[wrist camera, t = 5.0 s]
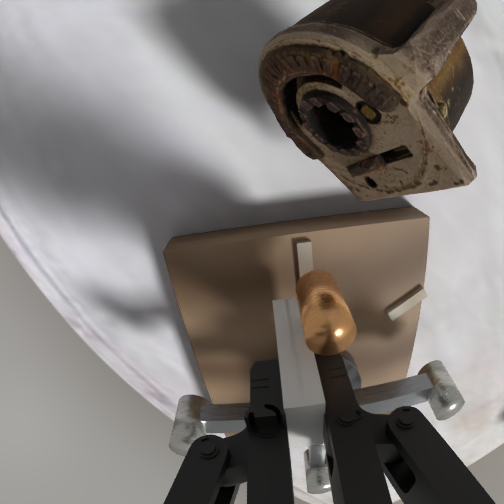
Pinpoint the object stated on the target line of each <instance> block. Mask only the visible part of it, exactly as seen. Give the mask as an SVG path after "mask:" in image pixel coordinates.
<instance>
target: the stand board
mask: <svg viewBox="0 0 504 504" xmlns="http://www.w3.org/2000/svg"><path fill="white" fill-rule="evenodd" d="M429 221H430V217H429V216H427V215H426V214H424V213H423V212H421V211H420V210H418V209H417V208H415V207H404V208H395V209H386V210H377V211H368V212H359V213H350V214H342V215H333V216H325V217H317V218H309V219H301V220H293V221H285V222H278V223H270V224H263V225H255V226H248V227H241V228H233V229H226V230H219V231H212V232H205V233H199V234H192V235H185V236H178V237H172V239H171V240H170V242H169V243H168V245H167V246H166V248H165V249H164V251H163V254H164V258H165V261H166V265H167V268H168V272H169V275H170V279H171V282H172V286H173V289H174V292H175V296H176V299H177V302H178V305H179V309H180V312H181V315H182V318H183V321H184V324H185V327H186V330H187V334H188V337H189V340H190V342H191V345H192V348H193V351H194V354H195V357H196V360H197V363H198V366H199V368H200V371H201V374H202V377H203V379H204V382H205V385H206V388H207V390H208V393H209V395H210V398H211V401H212V403H213V404H231V403H249V402H250V370H251V368H252V366H253V364H254V363H255V361H264V360H273V359H277V358H278V348H277V338H276V329H275V320H274V311H273V302H272V301H273V300H281V299H289V298H297V297H296V292H295V288H296V284H297V282H298V280H299V279H300V278H301V277H302V276H303V275H304V274H306V273H307V272H310V271H313V270H324V271H327V272H329V273H331V274H332V275H333V276H334V278H335V279H336V282H337V284H338V286H339V288H340V290H341V293H342V295H343V297H344V299H345V302H346V304H347V306H348V308H349V311H350V313H351V315H352V318H353V320H354V322H355V325H356V328H357V334H356V338H355V340H354V341H353V343H352V344H351V345H350V346H349V347H348V348H347V349H345V350H346V351H348V352H349V353H350V354H351V355H352V357H353V358H354V360H355V363H356V365H357V368H358V371H359V374H360V377H361V388H364V387H369V386H374V385H378V384H383V383H387V382H392V381H396V380H400V379H404V378H406V376H407V372H408V368H409V364H410V360H411V355H412V351H413V346H414V341H415V336H416V331H417V326H418V320H419V314H420V308H421V301H422V300H423V299H424V298H426V297H427V294H426V292H425V290H424V288H423V287H424V279H425V271H426V261H427V251H428V238H429ZM391 412H392V411H389V412H385V413H380V414H391ZM237 433H240V432H237ZM237 433H225V436H226V437H229V436H232V435H235V434H237Z"/></svg>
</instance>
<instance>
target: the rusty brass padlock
mask: <svg viewBox="0 0 504 504" xmlns="http://www.w3.org/2000/svg"><path fill="white" fill-rule="evenodd" d="M476 11H477V3H476V1H475V0H330V1H328V2H327V3H325V4H324V5H322V6H321V7H319V8H317V9H316V10H314V11H313V12H311V13H310V14H309V15H307V16H306V17H304V18H303V19H301V20H300V21H299V22H297V23H296V24H295V25H293V26H292V27H289V28H287V29H286V30H284V31H282V32H280V33H278V34H277V35H276V36H275V37H274V38H273V39H271V40H270V41H269V42H268V43H267V44H266V45H265V47H264V50H263V52H262V54H261V56H260V59H259V67H258V73H259V82H260V86H261V89H262V91H263V94H264V96H265V98H266V100H267V102H268V104H269V106H270V107H271V109H272V111H273V113H274V114H275V116H276V119H277V121H278V122H279V124H280V126H281V128H282V129H283V130H284V132H285V133H286V136H287V137H289V138H291V139H292V140H293V141H294V143H295V144H296V146H297V147H298V148H299V149H300V150H301V151H302V152H303V153H304V154H305V155H306V156H308V157H309V158H311V159H318V160H319V161H321V162H322V163H323V164H324V165H325V166H326V167H327V168H328V169H329V170H330V171H331V172H332V173H333V174H334V175H335V176H336V177H337V178H338V179H339V180H340V181H341V182H342V183H343V184H344V185H345V186H346V187H347V188H348V189H349V190H350V191H351V192H352V193H353V194H354V195H355V196H356V197H357V198H358V199H359V200H360V201H371V200H377V199H383V198H390V197H397V196H403V195H409V194H417V193H424V192H432V191H438V190H444V189H450V188H455V187H461V186H466V185H469V184H470V183H471V182H472V181H473V180H474V179H475V178H476V177H477V172H476V166H475V165H474V163H473V162H472V161H471V160H470V158H469V157H468V156H467V155H466V153H465V151H464V150H463V148H462V146H461V145H460V143H459V142H458V140H457V138H456V137H455V135H454V134H453V130H454V128H455V127H456V125H457V123H458V121H459V119H460V117H461V115H462V113H463V111H464V109H465V107H466V105H467V103H468V101H469V99H470V97H471V93H472V88H473V82H474V81H473V69H472V64H471V59H470V56H469V53H468V51H467V49H466V46H465V44H464V41H463V39H462V38H461V35H462V34H463V32H464V31H465V29H466V28H467V27H468V25H469V24H470V22H471V21H472V19H473V17H474V16H475V14H476Z"/></svg>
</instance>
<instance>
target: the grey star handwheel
mask: <svg viewBox="0 0 504 504" xmlns="http://www.w3.org/2000/svg"><path fill="white" fill-rule="evenodd" d="M295 292H296V297H297V302H298V307H299V312H300V317H301V322H302V327H303V332H304V337H305V342H306V345H307V347H308V348H309V349H310V350H311V351H312V352H313V353H315V354H318V355H324V356H328V355H335V354H339V355H340V356H341V357H342V358H343V361H344V364H345V368H346V370H347V373H348V376H349V379H350V382H351V385H352V388H353V391H354V394H355V397H356V401H357V403H358V405H359V406H360V407H361V408H362V409H363V410H365V411H367V412H369V413H373V414H380V413H385V412H389V411H393V410H395V409H396V408H399V407H402V406H412V405H416V404H419V403H422V402H426V401H428V402H429V404H430V406H431V408H432V410H433V412H434V414H435V416H436V419H437V420H445V419H448V418H450V417H452V416H453V415H455V414H456V413H457V412H458V411H459V410H460V409H461V408H462V407H463V405H464V402H465V401H464V399H463V397H462V395H461V394H460V392H459V390H458V388H457V387H456V385H455V383H454V381H453V380H452V378H451V376H450V375H449V373H448V371H447V370H446V368H445V366H444V365H443V363H442V362H441V361H439V360H436V361H432V362H430V363H428V364H426V365H425V366H424V367H423V368H422V369H421V370H420V371H419V373H418V375H416V376H412V377H408V378H404V379H400V380H396V381H392V382H387V383H383V384H378V385H374V386H369V387H364V388H361V377H360V374H359V371H358V368H357V365H356V363H355V360H354V358H353V357H352V355H351V354H350V353H349V352H348V351H346V350H345V349H347V348H348V347H349V346H350V345H351V344H352V343H353V341H354V340H355V338H356V334H357V328H356V325H355V322H354V320H353V318H352V315H351V313H350V311H349V308H348V306H347V304H346V302H345V299H344V297H343V295H342V293H341V290H340V288H339V286H338V284H337V282H336V279H335V278H334V276H333V275H332V274H331V273H329V272H327V271H324V270H313V271H310V272H307V273H306V274H304V275H303V276H302V277H301V278H300V279H299V280H298V282H297V284H296V288H295ZM277 359H279V357H278V358H277ZM249 408H250V402H249V403H231V404H209V402H208V401H207V400H206V399H204V398H203V397H200V396H197V395H185V396H182V397H181V398H180V399H179V403H178V407H177V412H176V416H175V420H174V425H173V429H172V434H171V438H170V443H169V448H170V449H171V450H172V451H173V452H175V453H176V454H179V455H182V456H186V454H187V452H188V450H189V448H190V446H191V444H192V443H193V442H194V440H196V439H197V438H199V437H201V436H205V435H206V433H237V432H241V431H242V430H244V429H245V428H246V423H245V420H244V416H245V413H246V411H247V410H248V409H249ZM325 452H326V450H325V444H324V442H323V444H318V445H312V446H309V449H308V450H306V451H305V452H304V462H305V471H306V481H307V491H308V493H311V494H321V493H325V492H328V491H331V485H330V479H329V474H328V468H327V464H325Z"/></svg>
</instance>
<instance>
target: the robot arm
mask: <svg viewBox="0 0 504 504" xmlns="http://www.w3.org/2000/svg"><path fill="white" fill-rule="evenodd" d="M272 302H273V311H274V320H275V329H276V338H277V348H278V357H279V359H273V360H264V361H255V363H254V364H253V366H252V368H251V370H250V408H249V409H248V410H247V411H246V413H245V416H244V420H245V423H246V428H245V429H244V430H242V431H241V432H240V433H237V434H235V435H232V436H229V437H226V438H223V439H222V438H221V437H219V436H216V435H205V436H201V437H199V438H197V439H196V440H194V442H193V443H192V444H191V446H190V448H189V450H188V452H187V454H186V456H185V459H184V461H183V463H182V465H181V467H180V470H179V472H178V474H177V476H176V478H175V480H174V482H173V485H172V487H171V489H170V491H169V493H168V495H167V497H166V499H165V502H164V504H234V501H235V498H236V495H237V492H238V489H239V486H240V484H241V483H243V482H247V504H294V493H293V481H292V470H291V459H290V449H289V448H296V447H305V446H312V445H318V444H323V442H324V444H325V450H326V452H325V464H327V468H328V474H329V479H330V485H331V491H332V497H333V502H334V504H392V501H391V497H390V493H389V490H388V486H387V483H386V479H385V476H384V473H385V475H386V476H387V478H388V480H389V481H390V483H391V484H392V486H393V487H394V489H395V490H396V492H397V494H398V495H399V497H400V498H401V500H402V501H403V503H404V504H495V502H494V501H493V500H492V499H491V497H490V496H489V495H488V493H487V492H486V491H485V490H484V488H483V487H482V486H481V485H480V483H479V482H478V481H477V480H476V478H475V477H474V476H473V475H472V473H471V472H470V471H469V470H468V468H467V467H466V466H465V465H464V463H463V462H462V461H461V460H460V459H459V457H458V456H457V455H456V454H455V452H454V451H453V450H452V449H451V448H450V446H449V445H448V444H447V443H446V441H445V440H444V439H443V438H442V437H441V435H440V434H439V433H438V432H437V431H436V429H435V428H434V427H433V426H432V425H431V423H430V422H429V421H428V420H427V419H426V417H425V416H424V415H423V414H422V413H421V412H420V411H419V410H418V409H417V408H414V407H411V406H402V407H399V408H396V409H395V410H393V411H392V412H391V414H373V413H369V412H367V411H365V410H363V409H362V408H361V407H360V406H359V405H358V403H357V401H356V397H355V394H354V391H353V388H352V385H351V382H350V379H349V376H348V373H347V370H346V368H345V364H344V361H343V358H342V357H341V356H340V355H339V354H335V355H328V356H324V355H318V354H315V353H313V352H312V351H311V350H310V349H309V348H308V347H307V345H306V342H305V337H304V332H303V327H302V322H301V317H300V312H299V307H298V302H297V298H289V299H281V300H273V301H272Z"/></svg>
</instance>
